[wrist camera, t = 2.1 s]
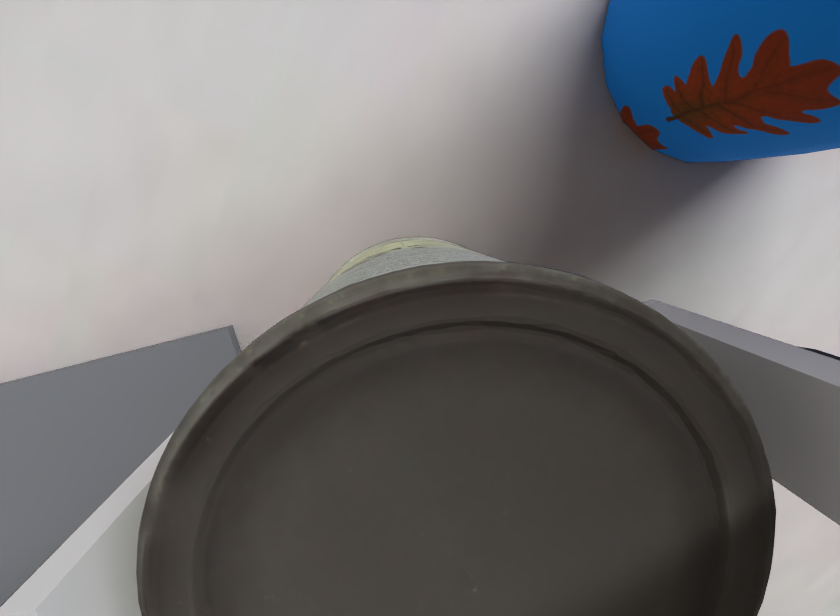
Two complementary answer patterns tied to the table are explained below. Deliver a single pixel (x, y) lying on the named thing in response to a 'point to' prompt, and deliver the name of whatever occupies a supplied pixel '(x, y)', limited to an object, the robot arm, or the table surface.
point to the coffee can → (462, 457)
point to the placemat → (89, 438)
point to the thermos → (726, 75)
